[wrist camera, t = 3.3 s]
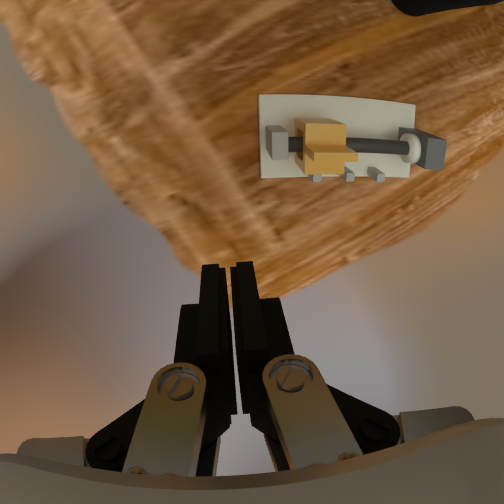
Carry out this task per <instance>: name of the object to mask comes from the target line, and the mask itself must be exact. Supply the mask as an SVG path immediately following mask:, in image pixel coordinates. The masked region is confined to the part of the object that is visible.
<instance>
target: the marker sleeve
mask: <svg viewBox="0 0 504 504" xmlns="http://www.w3.org/2000/svg"><path fill="white" fill-rule="evenodd" d="M295 137H303V152H295V163H296V164H297V165H298V167H299V168H300V169H301V170H302V172H303V173H304V174H305V175H306V174H344V165H345V162H358V153H357V152H355V151H354V150H352V149H350V148H349V147H347V146H346V124H344V123H341V122H339V121H336V120H333V119H331V118H295Z"/></svg>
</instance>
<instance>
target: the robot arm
mask: <svg viewBox="0 0 504 504" xmlns="http://www.w3.org/2000/svg"><path fill="white" fill-rule="evenodd" d="M236 265H237V267H230V271H231V287H232V303H233V318H234V332H235V346H236V356H237V366H238V375H239V383H240V393H241V401H242V410H243V414H248V413H250V418H251V424H252V426H253V427H255V428H256V429H258V430H259V431H261V432H262V433H264V438H265V441H266V445H267V448H268V451H269V453H270V456H271V459H272V462H273V465H274V468H275V471H276V472H270V473H261V474H250V475H236V476H216V471H217V463H218V456H219V449H220V442H221V439H220V436H221V435H222V434H223V433H224V432H225V431H226V430H227V429H228V428H229V427H230V424H231V415H235V414H237V402H236V388H235V374H234V360H233V345H232V330H231V320H230V311H229V301H228V291H227V281H226V271H225V268H219V264H208V265H202V272H201V285H200V297H199V304H186V305H182V306H181V310H180V317H179V325H178V332H177V340H176V349H175V356H174V363H173V364H170V365H167V366H165V367H163V368H161V369H160V370H159V371H158V372H157V373H156V374H155V375H154V377H153V379H152V381H151V384H150V386H149V389H148V392H147V395H146V398H145V399H144V400H143V401H141V402H140V403H139V404H137V405H136V406H134V407H133V408H132V409H130V410H129V411H127V412H126V413H124V414H123V415H122V416H120V417H119V418H117V419H116V420H114V421H113V422H111V423H110V424H109V425H107V426H106V427H104V428H103V429H101V430H100V431H98V432H97V433H96V434H94V436H92V437H91V438H90V439H85V438H84V437H83V436H76V437H59V438H32V439H28V440H26V441H24V442H23V443H22V444H21V445H20V447H19V448H18V451H17V454H9V453H6V454H0V504H504V418H487V419H478V420H474V418H473V416H472V414H471V413H470V412H469V411H468V410H466V409H465V408H462V407H458V406H457V407H455V406H453V407H445V408H437V409H429V410H420V411H409V412H400V414H399V415H395V416H392V415H390V414H388V413H387V412H385V411H383V410H381V409H378V408H376V407H374V406H372V405H370V404H367V403H365V402H363V401H361V400H359V399H357V398H354V397H352V396H350V395H348V394H346V393H344V392H342V391H340V390H338V389H335V388H334V387H331V386H329V385H327V384H326V383H325V381H324V379H323V377H322V375H321V373H320V371H319V370H318V368H317V366H316V365H315V364H314V363H313V362H312V361H311V360H309V359H308V358H306V357H303V356H300V355H295V354H294V351H293V347H292V343H291V340H290V336H289V332H288V328H287V324H286V320H285V317H284V313H283V309H282V305H281V301H280V299H279V297H277V298H266V299H259V294H258V289H257V283H256V278H255V272H254V267H253V261H247V262H236Z"/></svg>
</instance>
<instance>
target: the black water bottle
mask: <svg viewBox="0 0 504 504" xmlns="http://www.w3.org/2000/svg"><path fill="white" fill-rule="evenodd" d="M502 1H504V0H392V2H393V4H394V5H395V6H396V7H397V8H398V9H399V10H401V11H402V12H404V13H405V14H408V15H410V16H421V15H425V14H430V13H435V12H441V11H446V10H452V9H459V8H466V7H473V6H482V5H491V4H496V3H499V2H502Z"/></svg>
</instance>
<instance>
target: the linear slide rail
mask: <svg viewBox="0 0 504 504" xmlns="http://www.w3.org/2000/svg"><path fill="white" fill-rule="evenodd" d="M258 110H259V143H260V176H261V178H283V177H309V178H310V179H311V180H312V181H313V182H322V177H323V176H341V177H342V178H343V179H344V180H345V181H346V182H354V179H355V176H370V177H372V178H373V179H374V180H375V181H377V182H384V179H385V177H409V172H410V164H411V163H415V164H417V165H419V166H420V167H422V168H424V169H433V170H443V167H444V159H445V152H446V143H447V140H445V139H442V138H440V137H437V136H434V135H432V134H429V133H426V132H424V131H421V130H418V129H414V121H415V105H412V104H407V103H400V102H393V101H385V100H376V99H367V98H357V97H344V96H329V95H304V94H259V95H258ZM295 118H331V119H333V120H336V121H339V122H341V123H344V124H346V146H347V147H349V148H350V149H352V150H354V151H355V152H357V153H358V162H345V165H344V174H306V175H305V174H304V173H303V172H302V170H301V169H300V168H299V167H298V165H297V164H296V163H295V152H303V137H295Z"/></svg>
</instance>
